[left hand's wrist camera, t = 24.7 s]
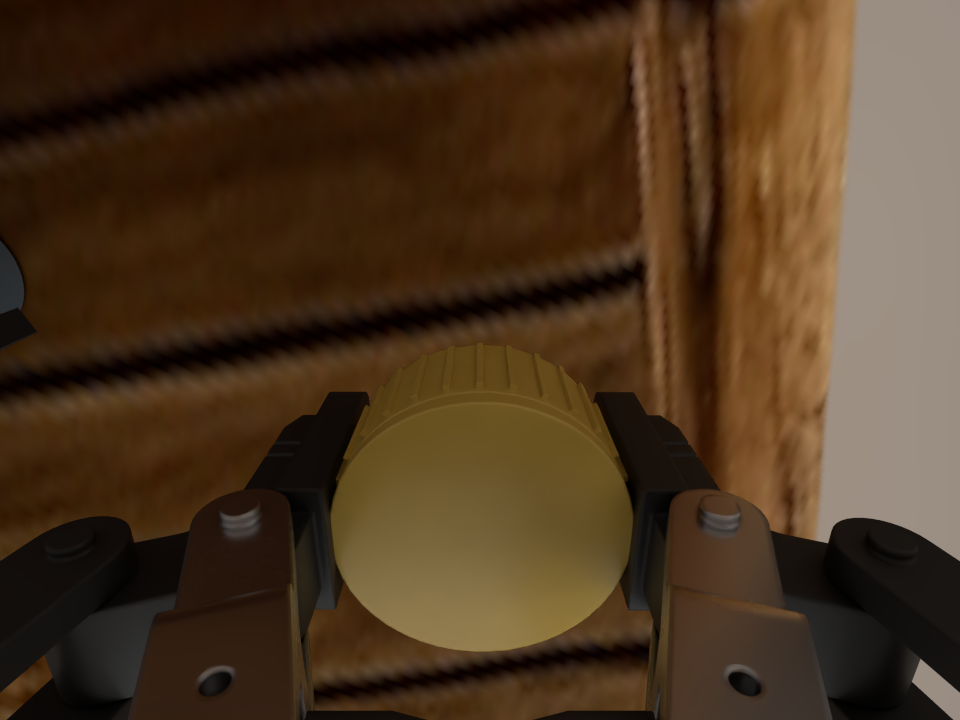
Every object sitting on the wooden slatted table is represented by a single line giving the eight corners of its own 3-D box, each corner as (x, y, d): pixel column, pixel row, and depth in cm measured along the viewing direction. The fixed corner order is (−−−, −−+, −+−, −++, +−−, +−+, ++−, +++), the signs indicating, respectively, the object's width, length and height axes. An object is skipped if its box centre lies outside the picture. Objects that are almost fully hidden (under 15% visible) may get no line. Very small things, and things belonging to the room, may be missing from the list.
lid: (641, 367, 10) (684, 430, 8) (572, 577, 12) (592, 675, 10) (371, 316, 10) (341, 368, 8) (341, 540, 12) (310, 633, 10)
